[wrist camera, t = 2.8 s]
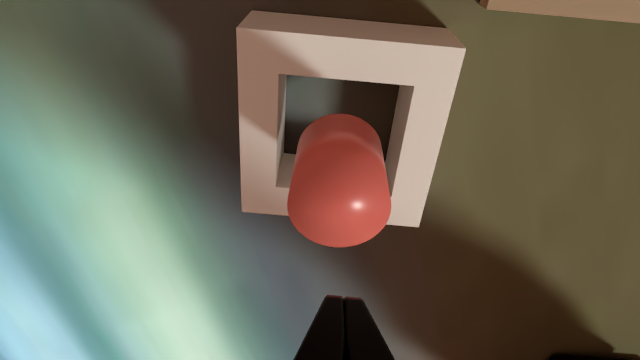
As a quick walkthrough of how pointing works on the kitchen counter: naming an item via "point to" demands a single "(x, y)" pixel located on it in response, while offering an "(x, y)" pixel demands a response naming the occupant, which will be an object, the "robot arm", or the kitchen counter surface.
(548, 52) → the kitchen counter surface
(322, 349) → the robot arm
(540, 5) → the board
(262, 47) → the square ring frame
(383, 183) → the button
